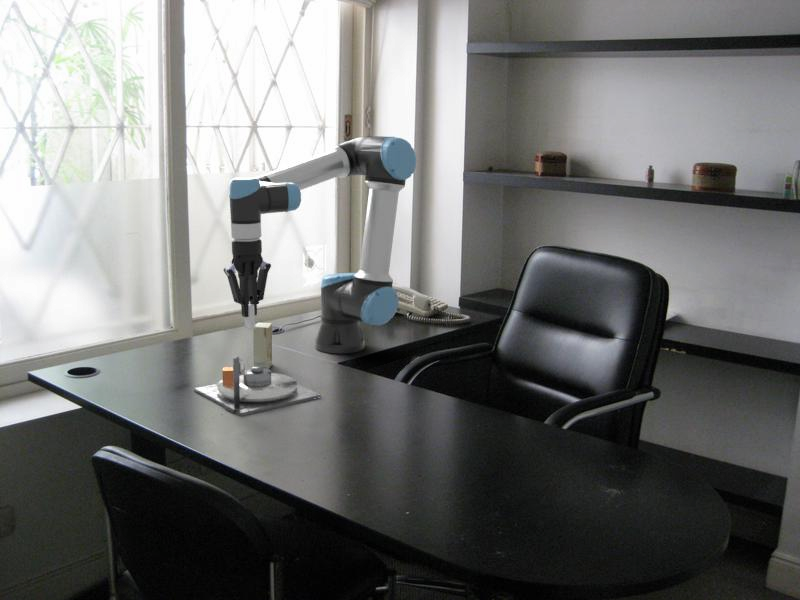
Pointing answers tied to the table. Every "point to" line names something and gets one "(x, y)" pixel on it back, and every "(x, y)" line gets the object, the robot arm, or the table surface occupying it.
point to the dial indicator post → (236, 385)
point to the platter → (275, 391)
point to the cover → (257, 377)
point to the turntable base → (255, 407)
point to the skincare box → (263, 345)
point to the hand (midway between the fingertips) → (249, 328)
